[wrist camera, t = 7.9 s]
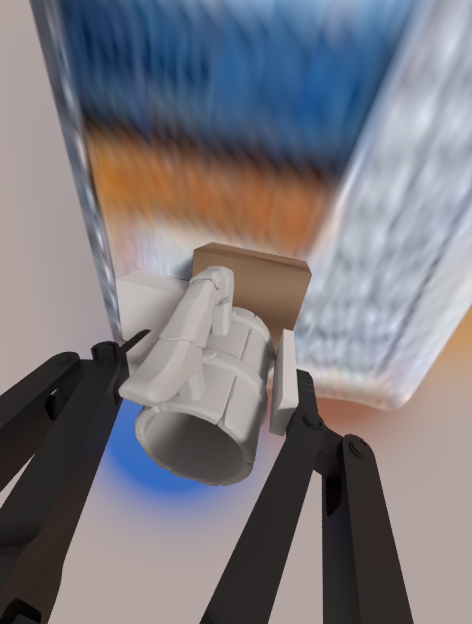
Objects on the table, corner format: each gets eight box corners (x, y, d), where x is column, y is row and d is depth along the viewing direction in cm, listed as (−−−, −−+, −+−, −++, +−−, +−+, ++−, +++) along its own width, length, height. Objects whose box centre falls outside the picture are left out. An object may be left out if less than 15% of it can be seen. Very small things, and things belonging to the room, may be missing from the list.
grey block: (138, 269, 25) (115, 279, 22) (199, 283, 24) (185, 296, 21) (142, 324, 29) (122, 339, 25) (195, 338, 28) (182, 356, 24)
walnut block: (212, 242, 22) (193, 249, 17) (306, 261, 21) (312, 274, 16) (204, 321, 26) (188, 343, 22) (280, 341, 25) (279, 368, 21)
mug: (199, 368, 21) (115, 522, 11) (183, 251, 16) (-9, 325, 5) (273, 377, 20) (261, 568, 9) (282, 252, 15) (280, 358, 4)
